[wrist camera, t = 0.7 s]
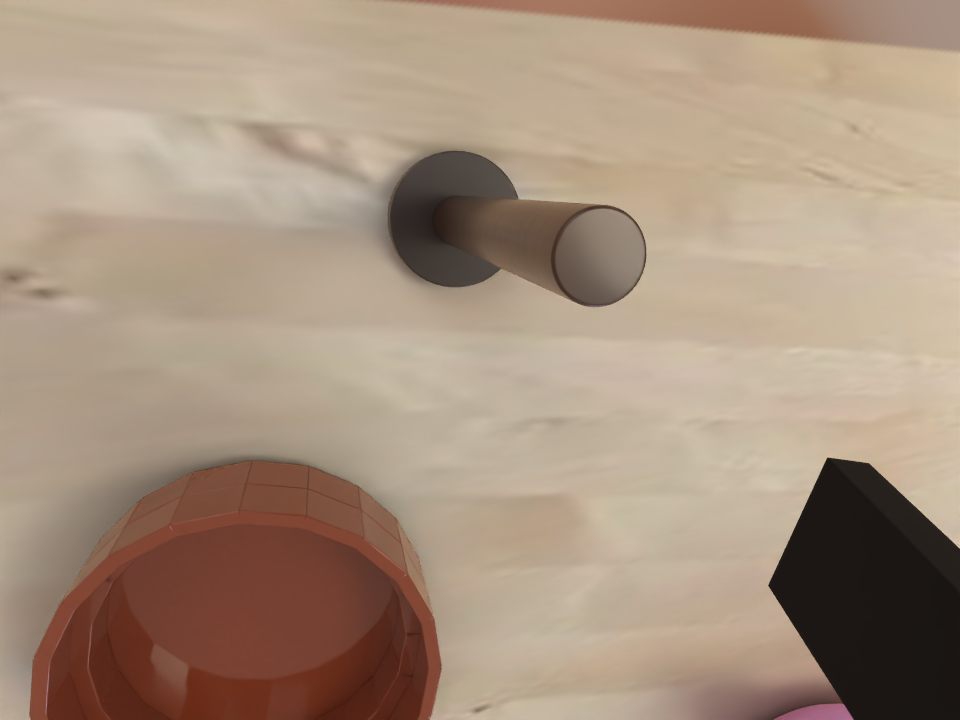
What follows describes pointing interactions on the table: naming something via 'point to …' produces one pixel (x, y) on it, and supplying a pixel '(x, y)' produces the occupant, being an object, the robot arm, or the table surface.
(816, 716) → the teapot
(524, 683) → the table surface
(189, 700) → the bowl
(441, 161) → the peg on round base
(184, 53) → the table surface
